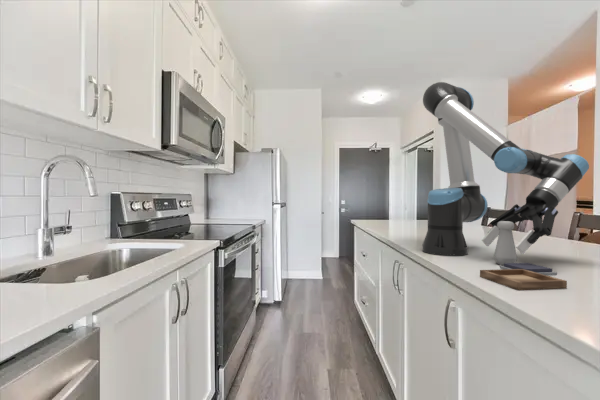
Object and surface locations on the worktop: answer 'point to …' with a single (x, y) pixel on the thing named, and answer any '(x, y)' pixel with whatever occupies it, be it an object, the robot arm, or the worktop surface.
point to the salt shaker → (505, 244)
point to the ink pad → (529, 268)
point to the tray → (523, 279)
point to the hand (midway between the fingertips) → (500, 246)
